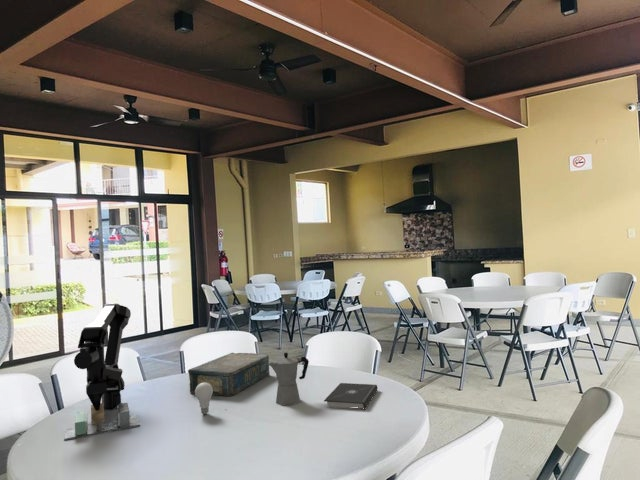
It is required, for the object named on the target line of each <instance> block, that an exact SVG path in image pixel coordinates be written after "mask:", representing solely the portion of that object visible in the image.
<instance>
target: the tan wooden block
mask: <svg viewBox="0 0 640 480" xmlns="http://www.w3.org/2000/svg"><path fill="white" fill-rule="evenodd" d="M104 410H105V409H104V404H103V403H102V402H101V403H100V409H99V410H98V411H96V410H95V408H94V406H93V404H90V414H91V415H90V418H91V419H90V421H91V423H90V424H92V423H98V422H103V421H105V411H104Z"/></svg>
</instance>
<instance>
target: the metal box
mask: <svg viewBox="0 0 640 480" xmlns="http://www.w3.org/2000/svg"><path fill="white" fill-rule="evenodd" d="M269 359H270V357H269V354H268V353H253V352H237V353H235V352H230V353H228V354H225V355H222V356H220V357H217V358H215V359H212V360H209V361H207V362H205V363H202V364H200V365H197V366H195V367H194V366H193V367H191V368H189V369H188V370H187V372H188V378H189V393H191V394H195V389H196V387H197V386H198V385H199V384H200V383H204V382H206V383H209V384H210V385H211V386H212V388H213V394H212V396H221V397H231V396H232V397H233V396H235V395H236V394H238V393H240V392H242V391H244V390H245V389H247V388H249V387H250V386H253V385H254V384H256V383H259V382H260V381H261V380H264V379H266V378H267V377H268V376H270V366H269V364H270V361H269Z"/></svg>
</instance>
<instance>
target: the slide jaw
mask: <svg viewBox="0 0 640 480" xmlns="http://www.w3.org/2000/svg"><path fill="white" fill-rule="evenodd" d="M88 424H89V421H88V413H87V411H83V412H82V411H81V412H76V413H75V420H74V427H75V436H76V435H81V434H86V432H87V426H88Z"/></svg>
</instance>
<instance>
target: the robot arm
mask: <svg viewBox="0 0 640 480" xmlns="http://www.w3.org/2000/svg"><path fill="white" fill-rule="evenodd" d="M102 306H103V307H102V309H101V311H100V312H99V314H98V315H97V317H96V318H95V319H94V321H92V322H90V323H88V324H86V325H85V326H84V327H83V329H82V330H81V333H80V337H79V341H78V345H77V349H79V352H78V353H76V355H75V357H74V359H73V363H74V366H75V368H78V369H79V370H86V383H87V384H86V385H85V392H86V395H87V397H88V399H89V401H90V402H91V405H93V406H94V408H95V410H96V411H98V410H99V409H100V403H103V404H104V410H106V411H107V410H108V411H112V410H114V409H117V406H118V404H122V403H123V402H122V394H121V391H124V390H125V381H124V378H123V376H122V375H123V371H124V370H123V369H122V368H119V364H118V363H119V357H120V349H121V344H122V339H123V338H122V337H123V331H124V329H125V328H126V327H127V325H128V324H129V321H130V319H131V315H132V313H131V309H129V307H128V306H124V305H120V304H119V303H118V302H117V303H116V302H110V303H106V304H103V305H102ZM108 327H109V331H108V329H107V328H108ZM106 342H107V344H106ZM105 346H106V351H105Z"/></svg>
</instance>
